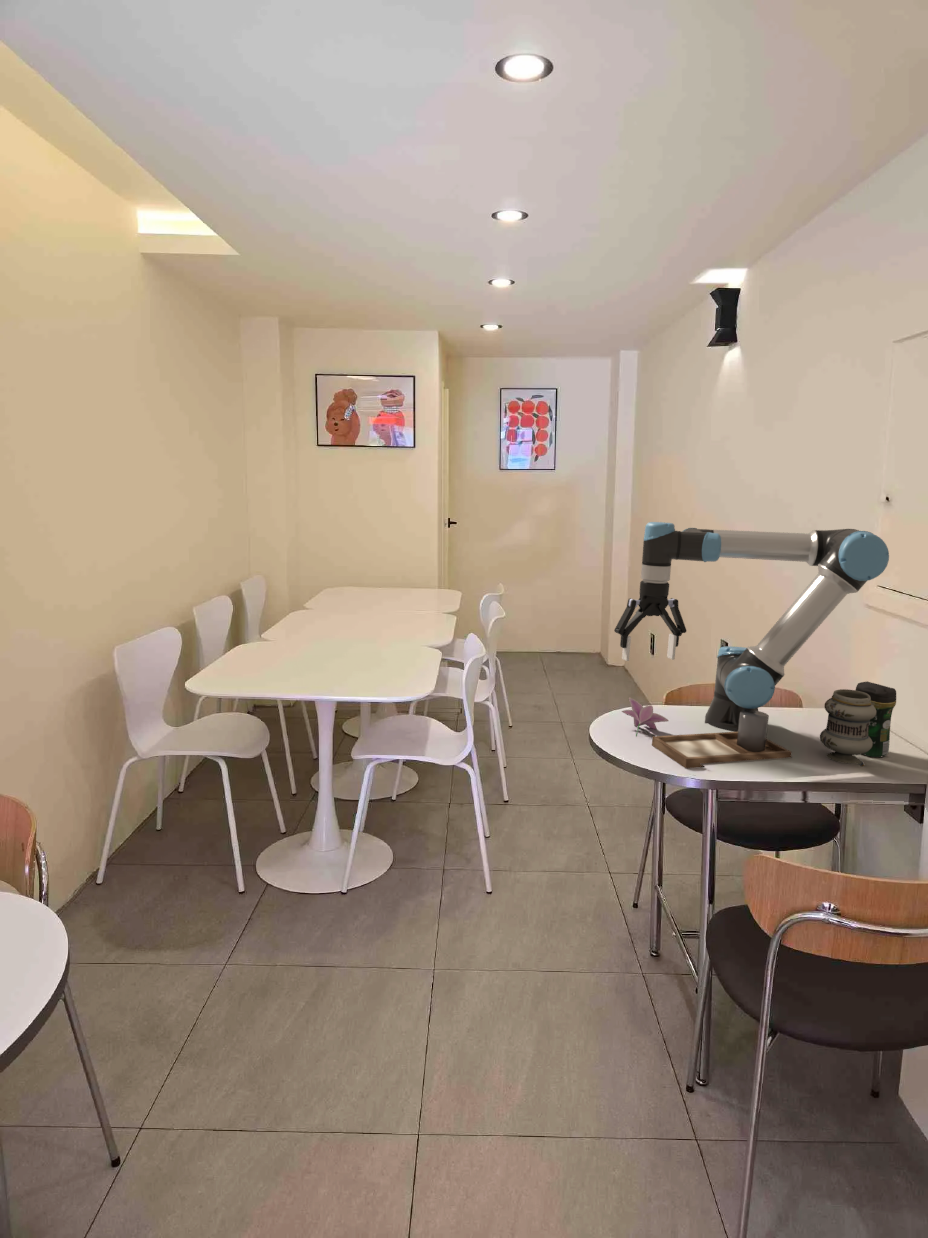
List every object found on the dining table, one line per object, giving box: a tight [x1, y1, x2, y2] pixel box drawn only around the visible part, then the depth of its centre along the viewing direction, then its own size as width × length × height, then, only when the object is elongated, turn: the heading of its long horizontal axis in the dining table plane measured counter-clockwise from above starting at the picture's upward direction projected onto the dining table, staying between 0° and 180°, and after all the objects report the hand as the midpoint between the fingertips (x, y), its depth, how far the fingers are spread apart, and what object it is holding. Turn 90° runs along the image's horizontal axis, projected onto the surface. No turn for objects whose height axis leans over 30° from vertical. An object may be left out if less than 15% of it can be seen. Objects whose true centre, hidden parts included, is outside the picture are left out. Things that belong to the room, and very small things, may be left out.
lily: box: [621, 697, 669, 737], centre depth 218 cm, size 12×12×10 cm
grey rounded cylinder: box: [737, 710, 769, 752], centre depth 206 cm, size 7×7×9 cm
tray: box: [651, 731, 793, 769], centre depth 205 cm, size 30×16×2 cm, turn 106°
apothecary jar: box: [819, 688, 876, 767], centre depth 201 cm, size 12×12×18 cm
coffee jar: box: [855, 680, 897, 758], centre depth 209 cm, size 10×8×19 cm
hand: (648, 659), depth 215 cm, fingers open, 13 cm apart
